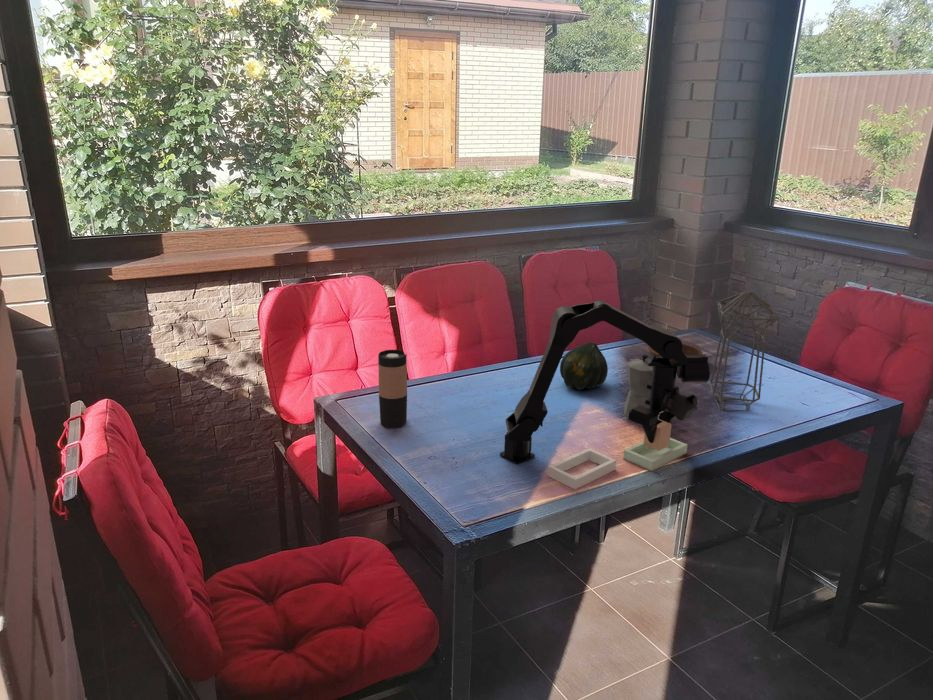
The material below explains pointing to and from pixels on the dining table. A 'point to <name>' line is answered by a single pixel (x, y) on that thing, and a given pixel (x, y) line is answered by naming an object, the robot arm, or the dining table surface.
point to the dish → (686, 349)
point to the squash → (584, 367)
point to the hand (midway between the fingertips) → (656, 439)
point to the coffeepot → (638, 384)
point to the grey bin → (575, 482)
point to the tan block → (660, 436)
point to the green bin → (654, 454)
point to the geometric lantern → (771, 316)
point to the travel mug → (392, 388)
